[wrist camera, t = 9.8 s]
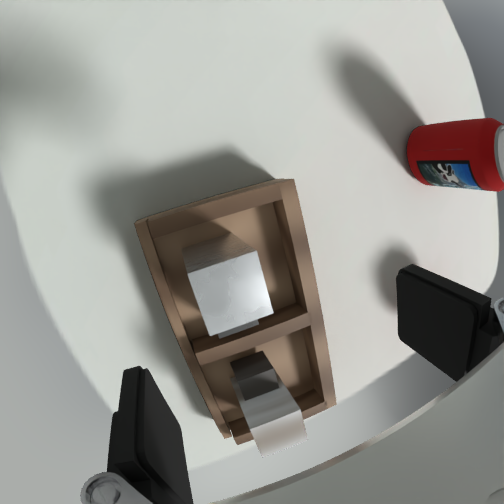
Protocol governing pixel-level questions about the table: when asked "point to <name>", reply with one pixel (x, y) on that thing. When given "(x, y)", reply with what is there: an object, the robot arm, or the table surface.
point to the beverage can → (459, 154)
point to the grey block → (227, 284)
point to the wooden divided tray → (270, 327)
